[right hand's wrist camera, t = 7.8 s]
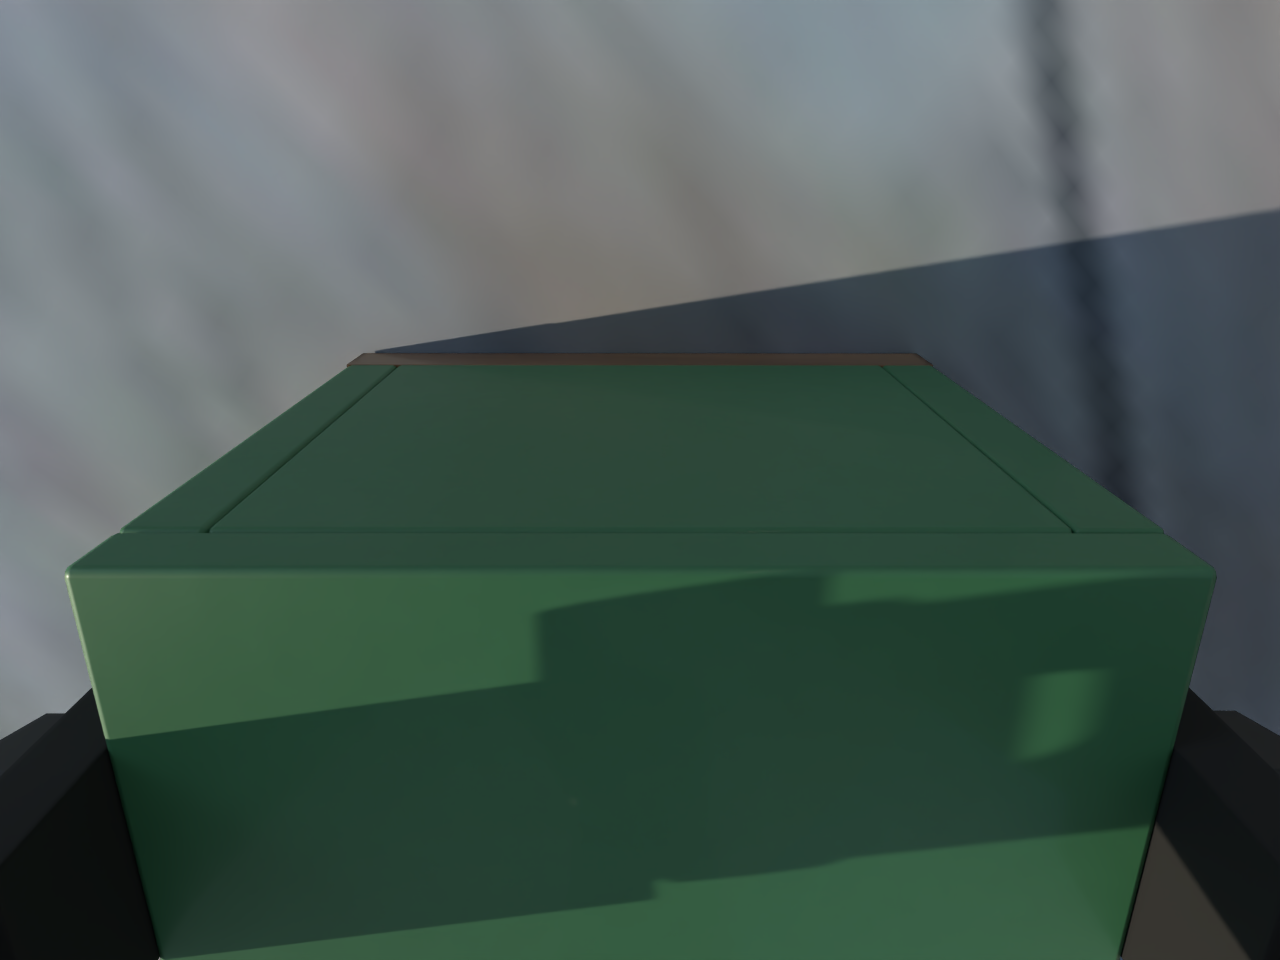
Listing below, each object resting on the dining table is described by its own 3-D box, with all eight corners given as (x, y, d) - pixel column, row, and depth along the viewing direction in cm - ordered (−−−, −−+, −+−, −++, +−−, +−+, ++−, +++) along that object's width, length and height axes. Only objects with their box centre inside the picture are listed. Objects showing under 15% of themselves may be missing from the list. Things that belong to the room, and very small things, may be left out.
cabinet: (841, 1026, 22) (968, 1568, 14) (436, 1026, 22) (310, 1569, 14) (916, 353, 16) (1225, 568, 8) (362, 353, 16) (55, 567, 8)
